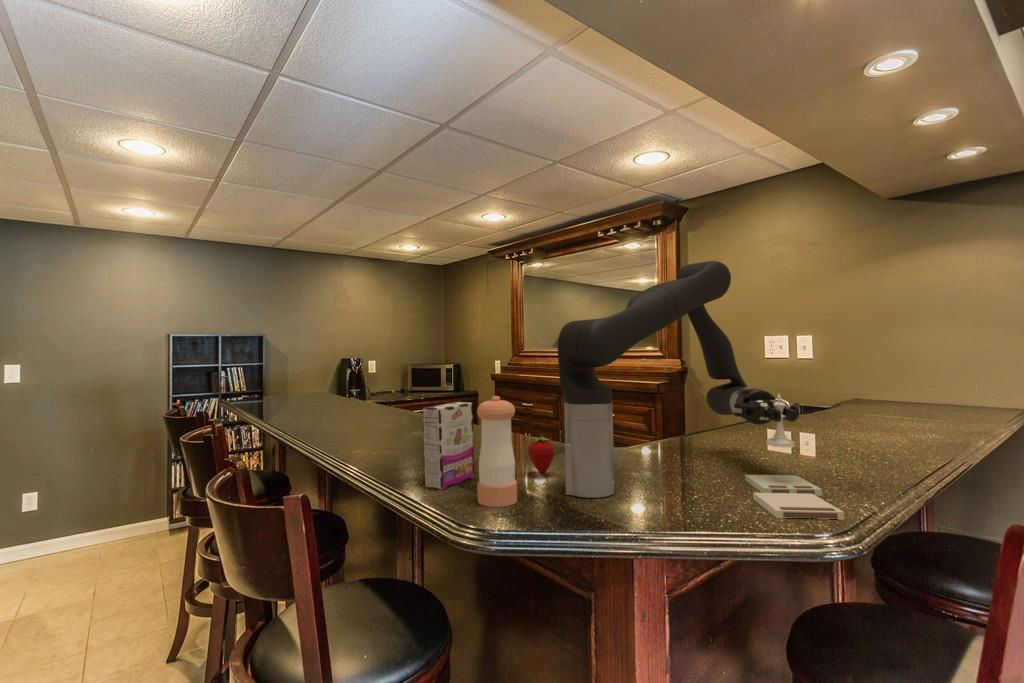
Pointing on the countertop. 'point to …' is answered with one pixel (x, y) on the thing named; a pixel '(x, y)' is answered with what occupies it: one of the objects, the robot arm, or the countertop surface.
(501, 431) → the pepper shaker
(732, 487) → the countertop surface
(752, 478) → the tile two
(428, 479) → the candy bar box
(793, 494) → the tile one
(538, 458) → the strawberry
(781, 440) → the chess piece
